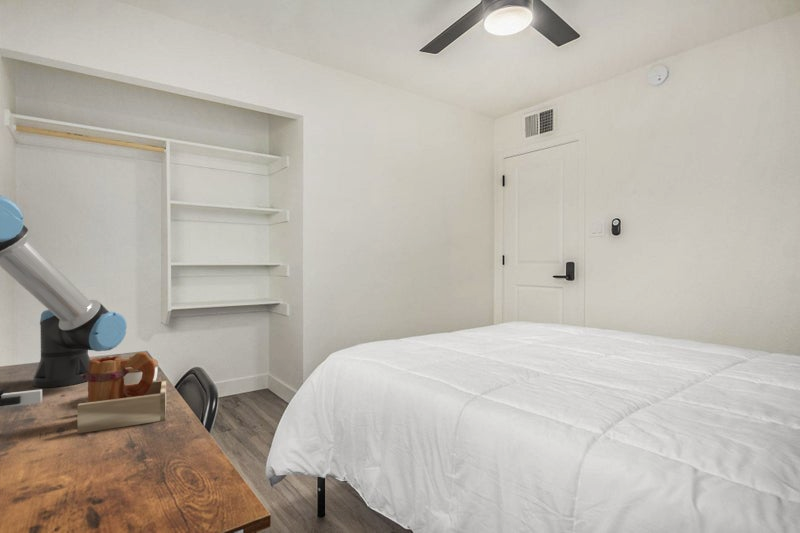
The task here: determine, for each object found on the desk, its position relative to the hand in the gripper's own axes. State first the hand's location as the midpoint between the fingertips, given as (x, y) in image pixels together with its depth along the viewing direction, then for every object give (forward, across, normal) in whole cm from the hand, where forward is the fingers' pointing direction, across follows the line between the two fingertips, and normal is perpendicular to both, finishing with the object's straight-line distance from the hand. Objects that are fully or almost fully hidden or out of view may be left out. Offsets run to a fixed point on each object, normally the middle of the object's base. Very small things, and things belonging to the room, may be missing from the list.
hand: (41, 396), depth 93 cm
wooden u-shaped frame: (+16, 0, -7) cm, 17 cm away
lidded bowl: (+16, -18, -7) cm, 25 cm away
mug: (+15, 0, -7) cm, 16 cm away
